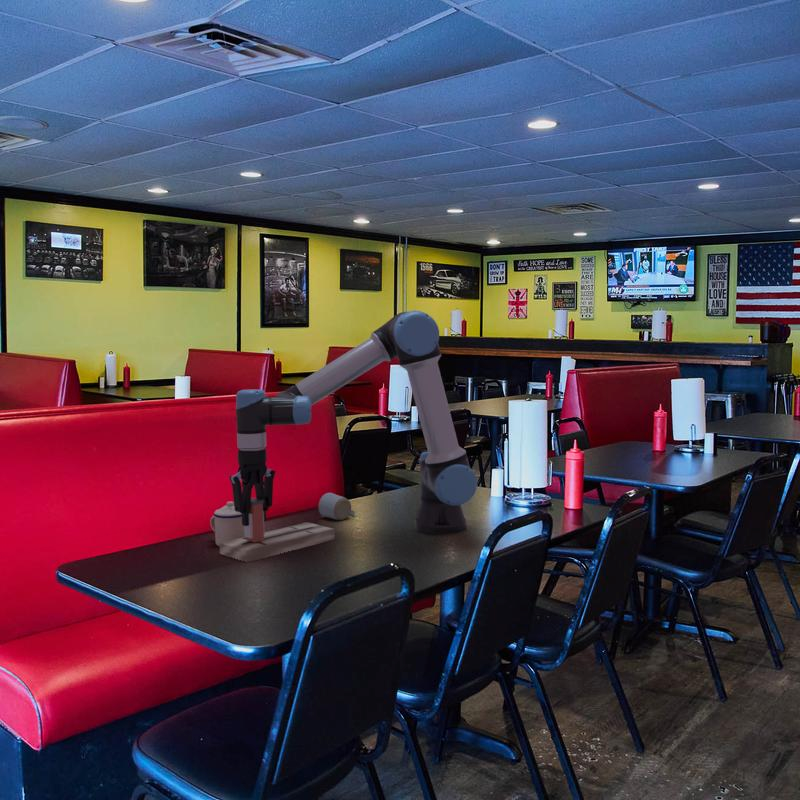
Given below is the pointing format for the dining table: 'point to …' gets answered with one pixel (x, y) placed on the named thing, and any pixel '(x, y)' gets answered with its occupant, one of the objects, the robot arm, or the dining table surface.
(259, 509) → the fader tab
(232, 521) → the teacup with lid
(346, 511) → the ceramic mug
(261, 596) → the dining table surface
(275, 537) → the panel
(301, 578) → the dining table surface
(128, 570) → the dining table surface
